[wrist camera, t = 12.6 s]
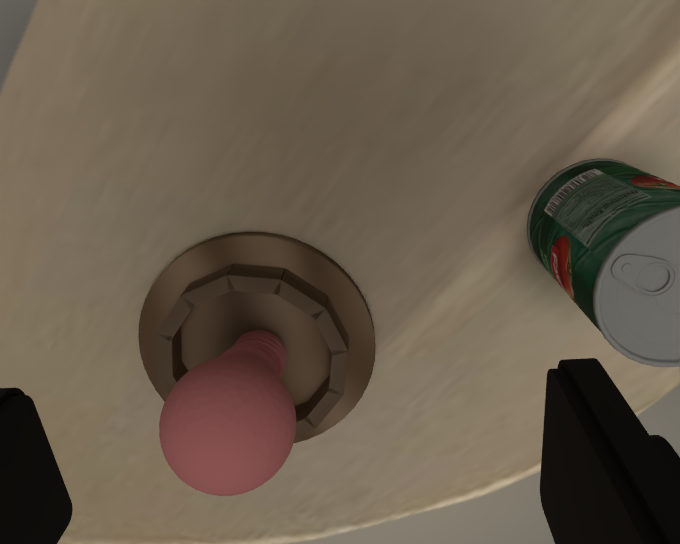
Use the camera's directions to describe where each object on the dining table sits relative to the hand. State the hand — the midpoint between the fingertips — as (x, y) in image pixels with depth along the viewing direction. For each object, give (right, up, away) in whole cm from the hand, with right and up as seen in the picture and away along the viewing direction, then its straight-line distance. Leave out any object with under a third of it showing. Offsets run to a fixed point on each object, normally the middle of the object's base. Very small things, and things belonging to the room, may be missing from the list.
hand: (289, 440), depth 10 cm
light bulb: (-5, -2, +28) cm, 28 cm away
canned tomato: (+17, +6, +25) cm, 31 cm away
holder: (-5, -2, +29) cm, 29 cm away
